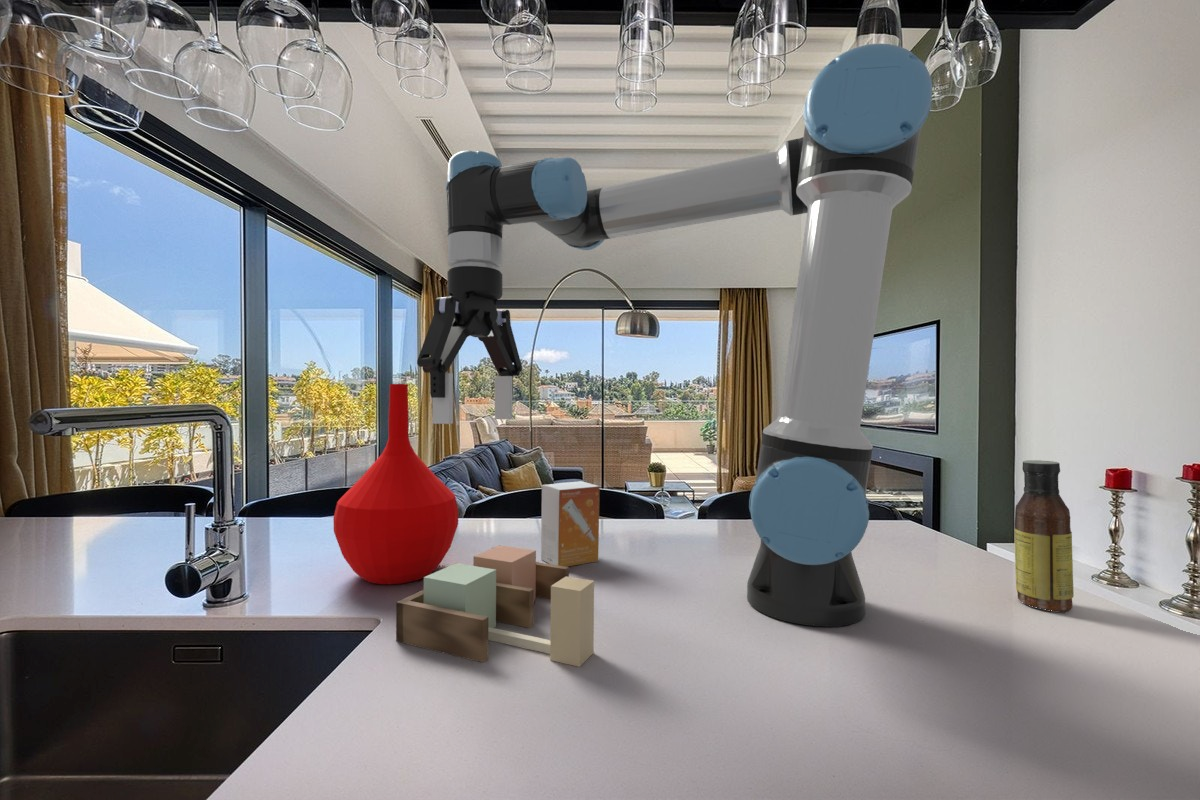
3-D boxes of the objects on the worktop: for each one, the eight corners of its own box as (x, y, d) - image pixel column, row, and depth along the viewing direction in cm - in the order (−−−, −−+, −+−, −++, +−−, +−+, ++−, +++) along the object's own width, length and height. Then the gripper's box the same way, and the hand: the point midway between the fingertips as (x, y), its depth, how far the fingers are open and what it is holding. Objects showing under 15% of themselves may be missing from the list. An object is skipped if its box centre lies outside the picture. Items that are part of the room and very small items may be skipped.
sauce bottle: (1064, 601, 78) (1067, 460, 78) (1080, 617, 73) (1083, 465, 73) (1007, 594, 81) (1010, 457, 81) (1019, 609, 76) (1022, 462, 75)
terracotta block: (535, 600, 77) (535, 550, 77) (511, 616, 72) (511, 562, 72) (498, 594, 80) (499, 545, 80) (473, 608, 74) (473, 556, 74)
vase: (406, 603, 76) (407, 383, 75) (304, 585, 82) (304, 382, 82) (480, 564, 93) (481, 385, 93) (391, 552, 99) (391, 384, 99)
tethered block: (598, 648, 63) (598, 577, 63) (574, 672, 57) (574, 594, 57) (456, 617, 71) (456, 555, 71) (423, 636, 65) (423, 568, 65)
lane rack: (568, 599, 78) (568, 567, 78) (482, 662, 59) (482, 620, 59) (496, 586, 82) (496, 556, 82) (396, 641, 64) (396, 602, 64)
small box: (558, 569, 91) (558, 489, 90) (540, 559, 96) (540, 484, 96) (599, 561, 95) (600, 485, 95) (580, 552, 100) (581, 480, 100)
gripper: (504, 287, 91) (504, 417, 91) (386, 252, 68) (387, 425, 69) (544, 283, 88) (544, 418, 88) (434, 245, 65) (435, 426, 65)
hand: (475, 421), depth 78 cm, fingers open, 13 cm apart
